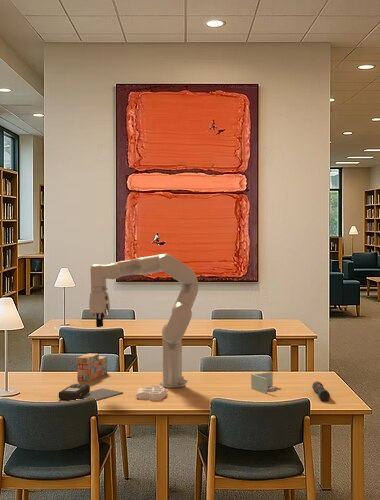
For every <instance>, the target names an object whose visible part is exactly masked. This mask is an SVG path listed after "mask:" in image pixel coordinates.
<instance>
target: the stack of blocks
mask: <svg viewBox="0 0 380 500" xmlns="http://www.w3.org/2000/svg"><path fill="white" fill-rule="evenodd" d="M107 358H108V357H107V356H104V355H103V356H102V355H100V354H99V353H90V352H89V353H86V354H83V355H80V356H77V359H76V360H77V362H76V369H77V378H76V379H77V382H78V381H79V382H90V381H93V380H95V379H97V378H99V377H101V376H104V375H106V374H107V373H108V362H107V361H108V360H107Z"/></svg>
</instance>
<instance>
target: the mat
mask: <svg viewBox="0 0 380 500" xmlns="http://www.w3.org/2000/svg"><path fill="white" fill-rule="evenodd" d="M122 394H124V392H123V391H118V390H113V389H108V388H98V389H94V390H90V392H89V393H87V394H86V395H84V396H83V397H81V398H82V399H85V398H94V399H96V401H95V402H98V401H100V400H104V399H107V398H111V397H115V396H119V395H122ZM81 398H80V399H81Z"/></svg>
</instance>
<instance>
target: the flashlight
mask: <svg viewBox="0 0 380 500" xmlns="http://www.w3.org/2000/svg"><path fill="white" fill-rule="evenodd" d="M311 387H312V390H313V391H314V392H315V394H317V395H318V399H319V400H320V401H321V402H328V401H329V400H330V398H331V395H330V392H329V391H328V390H327V389H326V388H325V387H324V385H323V384H322V382H321V381H314V382H313V383H312V384H311Z"/></svg>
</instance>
